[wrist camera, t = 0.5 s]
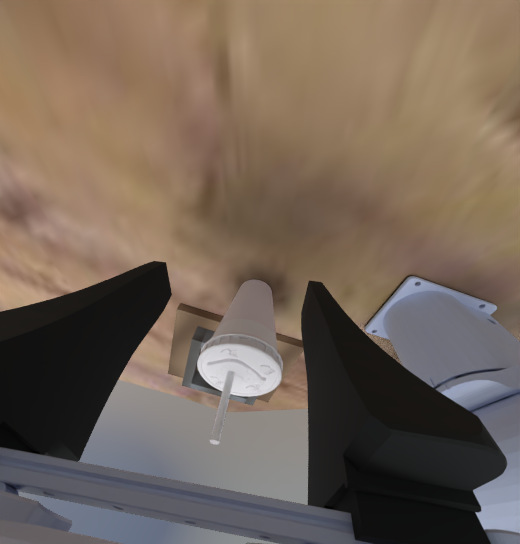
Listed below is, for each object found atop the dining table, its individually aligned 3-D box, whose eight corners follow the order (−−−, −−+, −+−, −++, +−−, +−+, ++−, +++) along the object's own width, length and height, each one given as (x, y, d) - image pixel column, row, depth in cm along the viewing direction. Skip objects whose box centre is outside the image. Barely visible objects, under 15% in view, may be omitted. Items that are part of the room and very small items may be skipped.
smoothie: (236, 259, 22) (176, 402, 10) (294, 281, 23) (301, 439, 11) (221, 303, 25) (162, 448, 13) (271, 321, 26) (257, 475, 14)
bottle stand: (304, 342, 27) (305, 363, 25) (268, 395, 35) (266, 416, 32) (180, 303, 26) (169, 321, 23) (171, 367, 33) (161, 386, 31)
